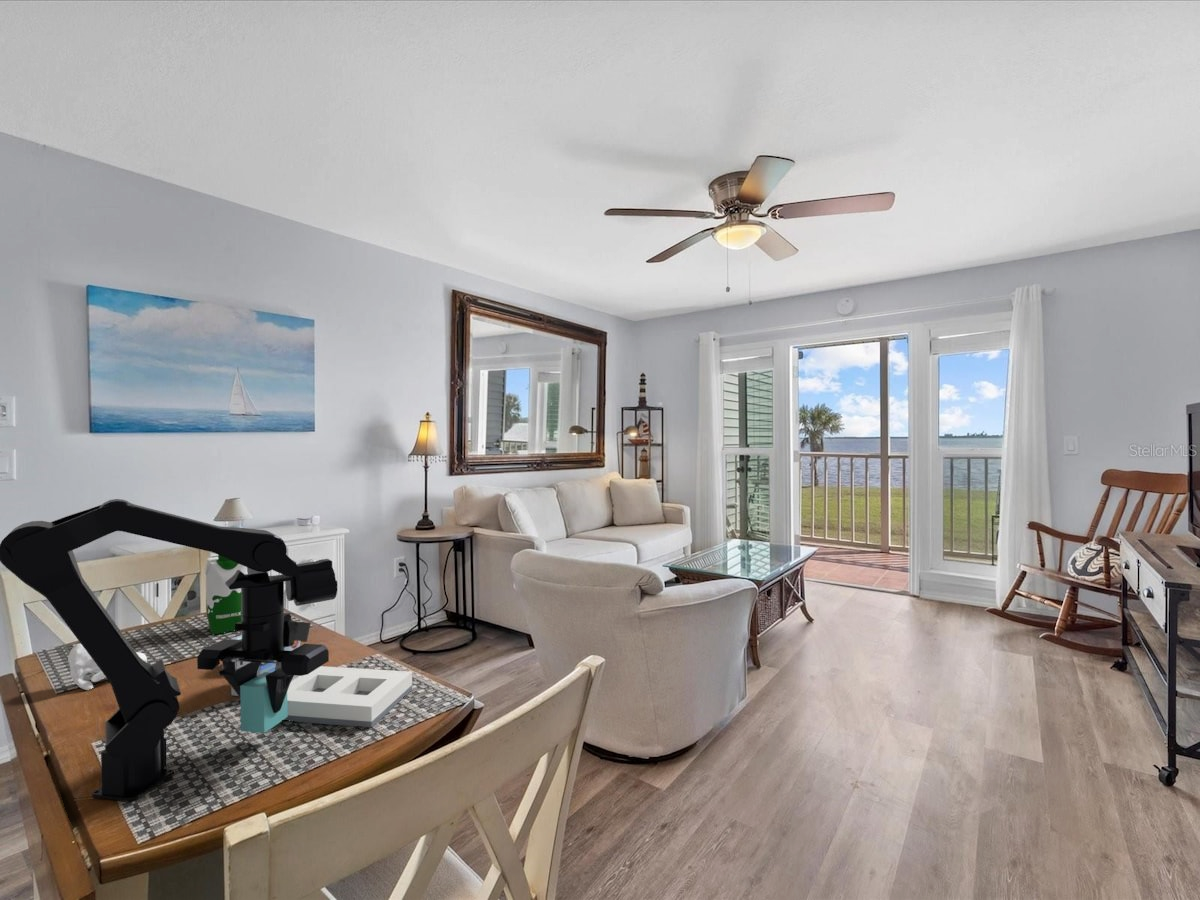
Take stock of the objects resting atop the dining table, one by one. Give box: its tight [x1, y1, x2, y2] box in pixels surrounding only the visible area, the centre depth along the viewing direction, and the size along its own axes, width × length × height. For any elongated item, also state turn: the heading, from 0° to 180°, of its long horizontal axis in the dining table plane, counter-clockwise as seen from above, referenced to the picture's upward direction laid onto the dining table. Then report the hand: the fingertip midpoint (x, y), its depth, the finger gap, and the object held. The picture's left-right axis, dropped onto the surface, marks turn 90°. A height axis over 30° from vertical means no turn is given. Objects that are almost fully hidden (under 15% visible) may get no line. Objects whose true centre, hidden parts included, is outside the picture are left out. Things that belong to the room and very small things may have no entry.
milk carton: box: [205, 554, 249, 635], centre depth 141 cm, size 9×9×20 cm
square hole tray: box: [284, 665, 413, 728], centre depth 100 cm, size 14×20×4 cm
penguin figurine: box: [67, 642, 148, 691], centre depth 110 cm, size 6×8×12 cm
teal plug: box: [239, 672, 288, 734], centre depth 88 cm, size 7×4×7 cm, turn 172°
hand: (264, 710), depth 87 cm, fingers closed on teal plug, 4 cm apart
